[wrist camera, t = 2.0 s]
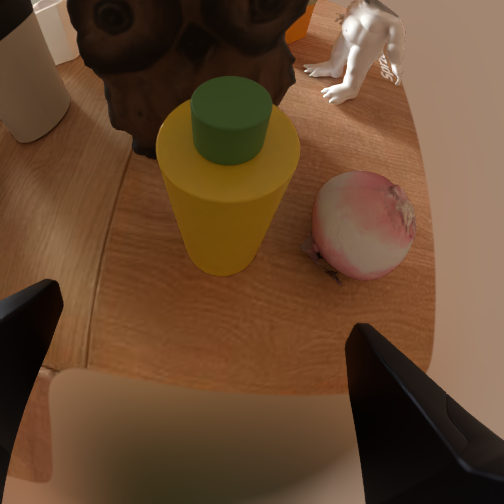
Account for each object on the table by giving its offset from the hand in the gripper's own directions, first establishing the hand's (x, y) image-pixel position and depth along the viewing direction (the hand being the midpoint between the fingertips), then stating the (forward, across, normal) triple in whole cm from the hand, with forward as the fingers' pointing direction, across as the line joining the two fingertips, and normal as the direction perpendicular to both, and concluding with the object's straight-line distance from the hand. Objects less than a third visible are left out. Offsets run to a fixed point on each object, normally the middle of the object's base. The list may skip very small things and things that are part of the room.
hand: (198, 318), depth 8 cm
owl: (+22, +4, -4) cm, 23 cm away
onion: (+14, -9, +4) cm, 18 cm away
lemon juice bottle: (+13, 0, +4) cm, 14 cm away
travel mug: (+22, +23, -4) cm, 32 cm away
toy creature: (+28, -10, -10) cm, 31 cm away
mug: (+31, +28, -13) cm, 44 cm away
